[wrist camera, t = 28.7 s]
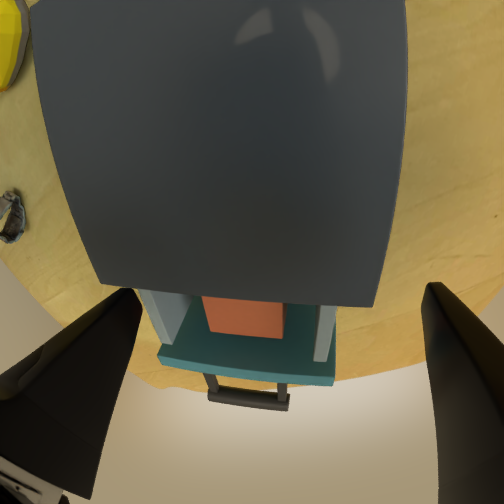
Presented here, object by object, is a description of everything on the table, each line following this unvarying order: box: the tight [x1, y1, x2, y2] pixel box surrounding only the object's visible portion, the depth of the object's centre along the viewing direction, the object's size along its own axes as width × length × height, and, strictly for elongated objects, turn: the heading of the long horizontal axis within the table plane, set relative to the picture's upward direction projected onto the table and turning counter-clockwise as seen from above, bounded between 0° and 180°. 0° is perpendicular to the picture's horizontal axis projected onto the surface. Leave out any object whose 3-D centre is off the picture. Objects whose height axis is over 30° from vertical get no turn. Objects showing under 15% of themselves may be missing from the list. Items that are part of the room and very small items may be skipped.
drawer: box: [138, 289, 337, 411], centre depth 18 cm, size 17×11×8 cm
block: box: [201, 296, 288, 339], centre depth 18 cm, size 4×4×4 cm
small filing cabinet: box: [30, 0, 408, 308], centre depth 12 cm, size 14×13×9 cm
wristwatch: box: [0, 191, 26, 244], centre depth 23 cm, size 3×5×5 cm
